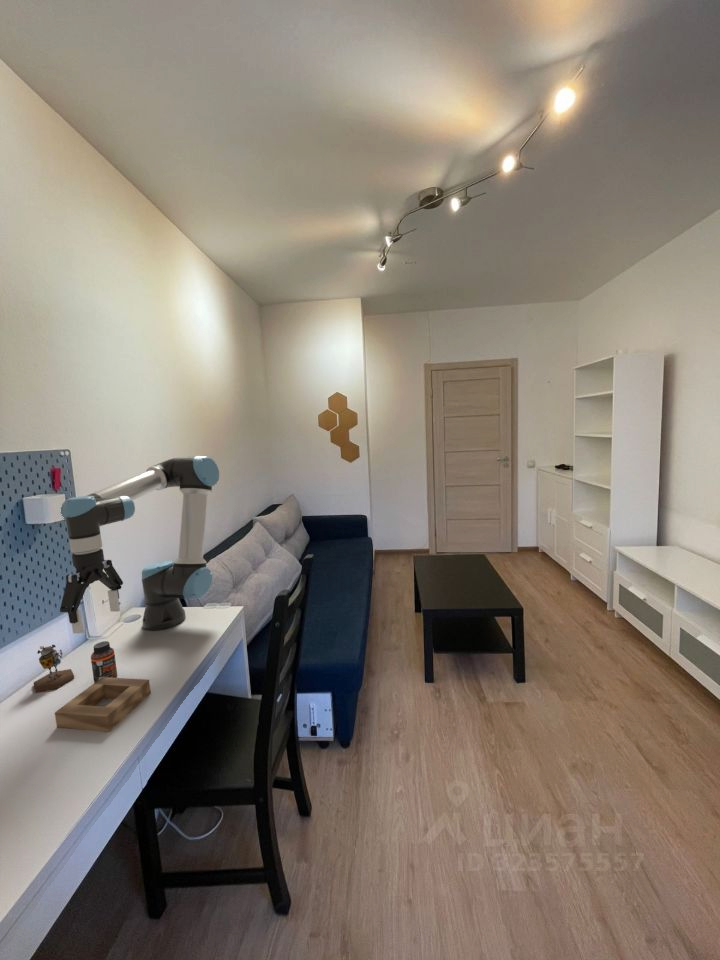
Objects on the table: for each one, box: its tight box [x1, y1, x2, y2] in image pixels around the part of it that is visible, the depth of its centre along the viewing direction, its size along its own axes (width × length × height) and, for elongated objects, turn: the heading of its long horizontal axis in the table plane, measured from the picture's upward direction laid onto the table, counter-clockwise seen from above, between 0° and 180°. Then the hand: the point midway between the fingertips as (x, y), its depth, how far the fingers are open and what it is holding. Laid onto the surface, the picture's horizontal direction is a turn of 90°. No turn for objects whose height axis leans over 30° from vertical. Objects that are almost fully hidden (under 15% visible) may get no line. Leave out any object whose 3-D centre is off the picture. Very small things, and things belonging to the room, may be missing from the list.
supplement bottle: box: [90, 640, 118, 684], centre depth 122 cm, size 6×6×11 cm
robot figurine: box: [33, 644, 75, 694], centre depth 123 cm, size 11×9×12 cm
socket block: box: [54, 677, 152, 733], centre depth 109 cm, size 15×15×4 cm
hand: (98, 621), depth 120 cm, fingers open, 13 cm apart
